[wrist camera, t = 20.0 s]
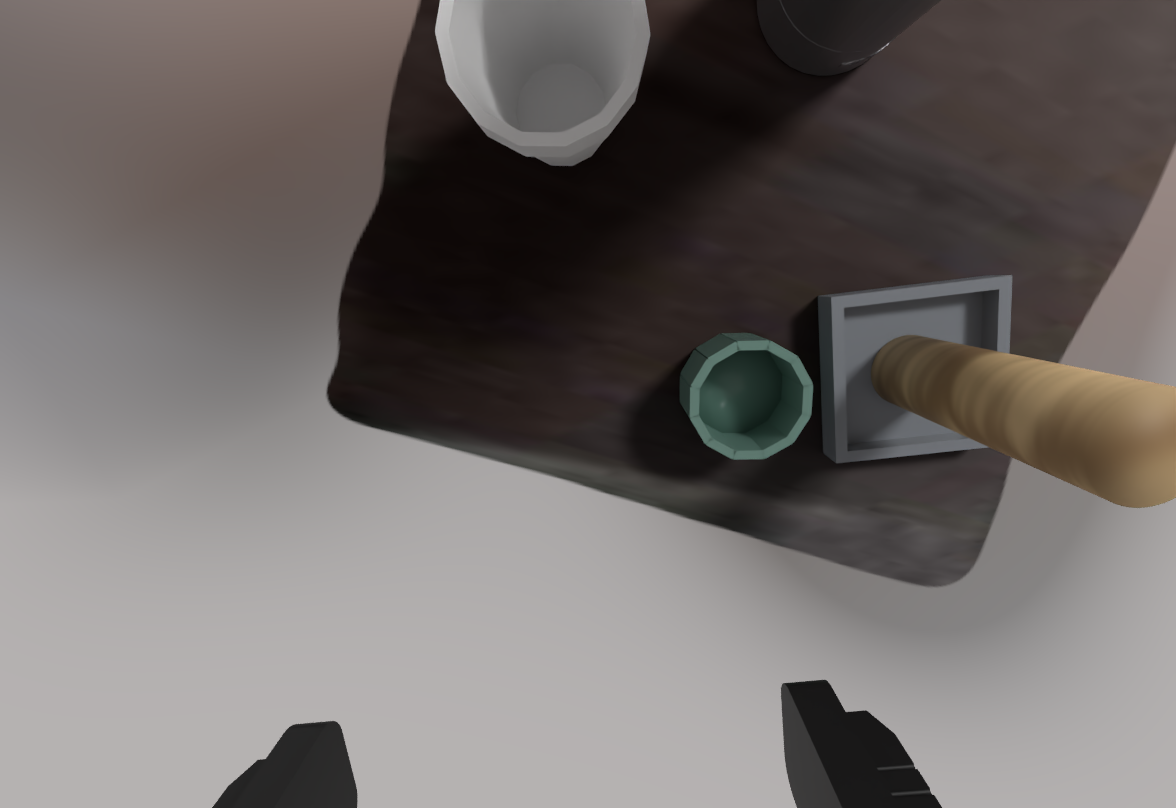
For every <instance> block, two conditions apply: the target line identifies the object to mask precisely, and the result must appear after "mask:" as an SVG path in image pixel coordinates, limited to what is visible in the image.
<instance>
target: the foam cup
mask: <svg viewBox="0 0 1176 808" xmlns="http://www.w3.org/2000/svg"><path fill="white" fill-rule="evenodd" d="M435 34H436V38H437V43H438V47H439V51H440V55H441V59H442V64H443V68H444V72H445V76H446V80H447V84H448V85H449V86H450V88H451V89H452V90H453V92H454V93H455V94H456V96H457V97H458V98H459V100H460V101H461V102H462V104H463V105H464V106H465V108H466V109H467V110H468V112H469V113H470V114H471V116H472V117H473V118H474V120H475V121H476V122H477V124H478V125H479V126H480V127H481V129H482V130H483V131H484V132H485V134H486V135H487V136H488V137H490V138H492V139H494V140H496V141H497V142H499V143H501V144H503V145H505V146H507V147H509V148H511V149H513V150H514V151H516V152H518V153H520V154H522V155H524V156H526V157H536V158H538V159H540V160H541V161H543V162H545V163H547V164H549V165H551V166H573V165H575V164H577V163H579V162H581V161H583V160H585V159H587V158H589V157H591V156H592V155H593V154H594V153H595V151H596V150H597V149H598V147H599V146H600V145H601V144H602V142H603V141H604V140H605V139H606V138H607V137H608V136H609V135H610V133H611V132H612V131H613V129H614V128H615V127H616V126H617V124H618V123H619V122H620V120H621V119H622V118H623V116H624V115H625V114H626V113H627V111H628V110H629V109H630V107H631V106H632V105H633V103H634V102H635V99H636V95H637V91H638V87H639V83H640V79H641V74H642V70H643V66H644V62H645V58H646V54H647V49H648V44H649V39H650V28H649V22H648V16H647V10H646V4H645V0H440V4H439V10H438V16H437V22H436V28H435Z"/></svg>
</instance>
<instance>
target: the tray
mask: <svg viewBox="0 0 1176 808" xmlns="http://www.w3.org/2000/svg"><path fill="white" fill-rule="evenodd" d="M1011 297H1012V275H987V276H979V277H971V278H962V279H954V280H946V281H938V282H929V283H921V284H913V285H905V286H897V287H888V288H880V289H872V290H864V291H855V292H847V293H839V294H831V295H823V296H818V317H819V346H820V375H821V404H822V433H823V453H824V454H825V455H826V456H827V457H829V458H830V459H831V460H832V461H834V462H835V463H845V462H855V461H864V460H874V459H883V458H892V457H902V456H911V455H921V454H930V453H939V452H949V451H958V450H968V449H977V448H987V447H988V446H985V445H983V444H981V443H979V442H977V441H974V440H972V439H970V438H968V437H965V436H963V435H961V434H959V433H957V432H954V431H952V430H950V429H948V428H945V427H943V426H941V425H939V424H937V423H934V422H932V421H930V420H928V419H925V418H923V417H921V416H919V415H917V414H914V413H912V412H910V411H908V410H905V409H903V408H901V407H899V406H896V405H894V404H892V403H890V402H888V401H886V400H884V399H883V398H882V397H880V396H879V395H878V393H877V392H876V391H875V389H874V387H873V384H872V380H871V368H872V364H873V361H874V359H875V357H876V355H877V353H878V352H879V351H880V349H881V348H882V347H883V346H884V345H886V344H887V343H888V342H890V341H891V340H893V339H895V338H897V337H900V336H905V335H918V336H923V337H928V338H933V339H938V340H943V341H948V342H953V343H958V344H963V345H968V346H973V347H978V348H983V349H988V350H993V351H998V352H1003V353H1008V354H1009V350H1010V324H1011Z"/></svg>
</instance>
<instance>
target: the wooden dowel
mask: <svg viewBox="0 0 1176 808" xmlns="http://www.w3.org/2000/svg"><path fill="white" fill-rule="evenodd" d="M871 380H872V384H873V387H874V389H875V391H876V392H877V393H878V395H879V396H880V397H882V398H883V399H884V400H886V401H888V402H890V403H892V404H894V405H896V406H899V407H901V408H903V409H905V410H908V411H910V412H912V413H914V414H917V415H919V416H921V417H923V418H925V419H928V420H930V421H932V422H934V423H937V424H939V425H941V426H943V427H945V428H948V429H950V430H952V431H954V432H957V433H959V434H961V435H963V436H965V437H968V438H970V439H972V440H974V441H977V442H979V443H981V444H983V445H985V446H988V447H990V448H992V449H994V450H997V451H999V452H1001V453H1003V454H1006V455H1008V456H1010V457H1012V458H1015V459H1017V460H1019V461H1021V462H1023V463H1026V464H1028V465H1030V466H1032V467H1034V468H1037V469H1039V470H1041V471H1044V472H1046V473H1048V474H1050V475H1052V476H1055V477H1057V478H1059V479H1061V480H1063V481H1066V482H1068V483H1070V484H1072V485H1074V486H1077V487H1079V488H1081V489H1083V490H1086V491H1088V492H1090V493H1092V494H1095V495H1097V496H1099V497H1101V498H1104V499H1106V500H1108V501H1110V502H1113V503H1115V504H1118V505H1121V506H1126V507H1133V508H1142V507H1150V506H1155V505H1159V504H1162V503H1165V502H1167V501H1170V500H1172V499H1174V498H1176V387H1173V386H1168V385H1163V384H1158V383H1153V382H1148V381H1143V380H1138V379H1132V378H1127V377H1123V376H1118V375H1113V374H1108V373H1103V372H1098V371H1093V370H1088V369H1083V368H1078V367H1073V366H1068V365H1063V364H1058V363H1053V362H1048V361H1043V360H1038V359H1033V358H1028V357H1023V356H1018V355H1013V354H1008V353H1003V352H998V351H993V350H988V349H983V348H978V347H973V346H968V345H963V344H958V343H953V342H948V341H943V340H938V339H933V338H928V337H923V336H918V335H905V336H900V337H897V338H895V339H893V340H891V341H890V342H888V343H887V344H886V345H884V346H883V347H882V348H881V349H880V351H879V352H878V353H877V355H876V357H875V359H874V361H873V364H872V368H871Z"/></svg>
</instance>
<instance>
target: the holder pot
mask: <svg viewBox="0 0 1176 808" xmlns="http://www.w3.org/2000/svg"><path fill="white" fill-rule="evenodd" d="M695 349H696V350H695ZM695 349H694V351H693V352H692V354H691V356H690V357H689V359H688V361H687V362H686V364H685V366H684V367H683V369H682V371H681V373H680V400H679V401H680V404H681V405H682V407H683V409H684V410H685V412H686V414H687V415H688V417H689V419H690V421H691V422H692V424H693V426H694V427H695V429H696V430H697V432H698V434H699V435H700V437H701V439H702V440H703V442H704V443H705V444H706V445H707V446H709V447H710V448H712V449H714V450H716V451H718V452H720V453H721V454H723V455H725V456H727V457H729V458H731V459H733V460H736V459H764V458H765V459H766V458H768V457H769V456H771V455H773V454H775V453H777V452H778V451H780V450H782V449H784V448H786V447H788V446H789V445H791V444H793V443H794V442H795V440H796V439H797V437H798V436H799V434H800V432H801V431H802V429H803V428H804V426H805V425H806V423H807V422H808V420H809V419H810V417H811V416H809V415H811V412H812V396H813V385H812V384H813V383H812V381H811V379H810V377H809V375H808V373H807V372H806V370H805V368H804V366H803V364H802V362H801V360H800V359H799V357H798V356H797V355H795V354H793V353H792V352H790V351H788V350H786V349H784V348H783V347H781V346H779V345H777V344H776V343H774V342H772V341H770V340H767V339H765V338H762V337H759V336H757V335H754V334H751V333H723V334H719V335H717V336H715V337H714V338H712V339H710V340H709V341H707V342H705V343H703V344H702V345H700V346H698V347H697V348H695ZM792 442H793V443H792Z"/></svg>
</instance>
